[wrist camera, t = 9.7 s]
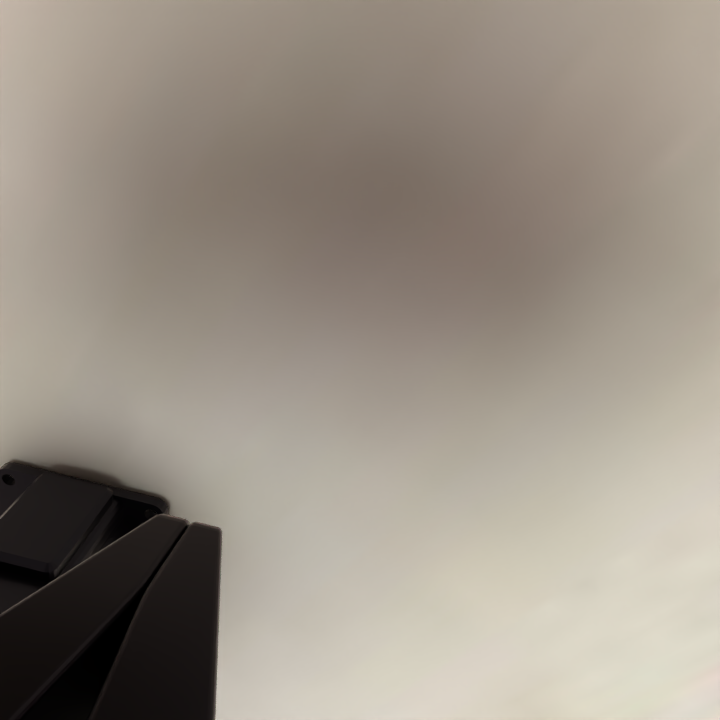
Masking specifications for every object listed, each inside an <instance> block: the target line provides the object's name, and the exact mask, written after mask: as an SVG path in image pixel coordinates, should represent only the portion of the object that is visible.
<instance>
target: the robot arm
mask: <svg viewBox="0 0 720 720" xmlns="http://www.w3.org/2000/svg"><path fill="white" fill-rule="evenodd" d="M10 475H11V476H12V477H13V478H12V477H11V476H10ZM150 509H151V510H154V511H155V512H156V513H154V512H152V511H151V510H150ZM168 512H169V511H168V506H167V505H166V503H165V502H164V501H162V500H161V499H158V498H156V497H152V496H148V495H144V494H140V493H135V492H131V491H127V490H123V489H119V488H115V487H111V486H107V485H103V484H99V483H95V482H91V481H86V480H82V479H78V478H74V477H70V476H66V475H62V474H58V473H54V472H50V471H46V470H41V469H37V468H33V467H29V466H25V465H21V464H17V463H10V462H9V463H6V464H5V465H4V466H3V467H1V468H0V720H215V713H216V686H217V659H218V632H219V606H220V579H221V552H222V530H221V529H220V528H219V527H215V526H211V525H207V524H203V523H199V522H193V523H191V524H190V523H189V521H188V520H186V519H183V518H179V517H175V516H171V515H168Z"/></svg>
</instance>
